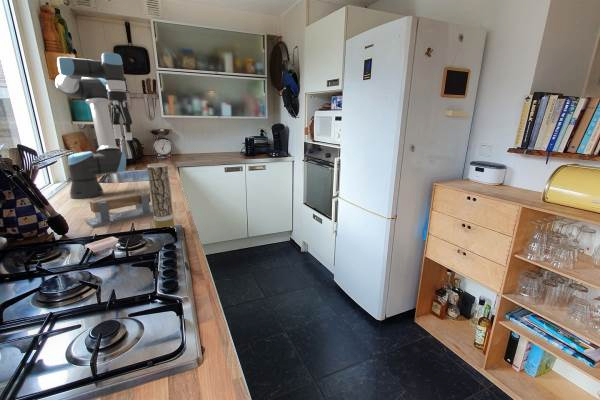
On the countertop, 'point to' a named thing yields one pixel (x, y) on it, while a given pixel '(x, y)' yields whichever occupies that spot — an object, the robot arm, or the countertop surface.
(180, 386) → the countertop surface
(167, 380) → the countertop surface
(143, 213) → the cup bracket
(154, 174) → the bark textured post
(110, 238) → the soap bar
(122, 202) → the walnut rail
